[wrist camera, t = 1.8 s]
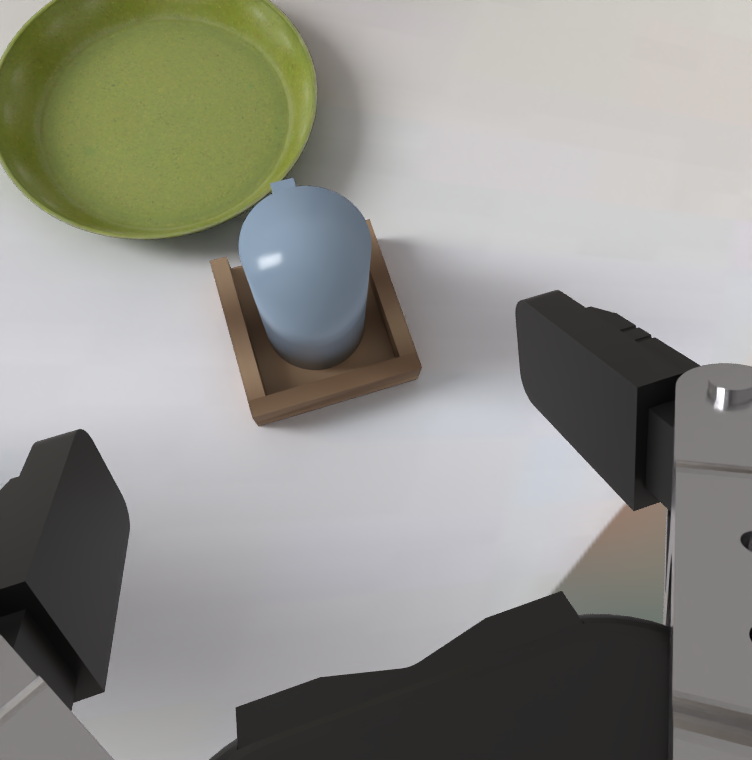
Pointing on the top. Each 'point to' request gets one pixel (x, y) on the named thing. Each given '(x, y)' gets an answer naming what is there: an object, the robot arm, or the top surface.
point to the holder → (316, 387)
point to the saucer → (154, 111)
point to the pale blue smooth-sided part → (308, 272)
